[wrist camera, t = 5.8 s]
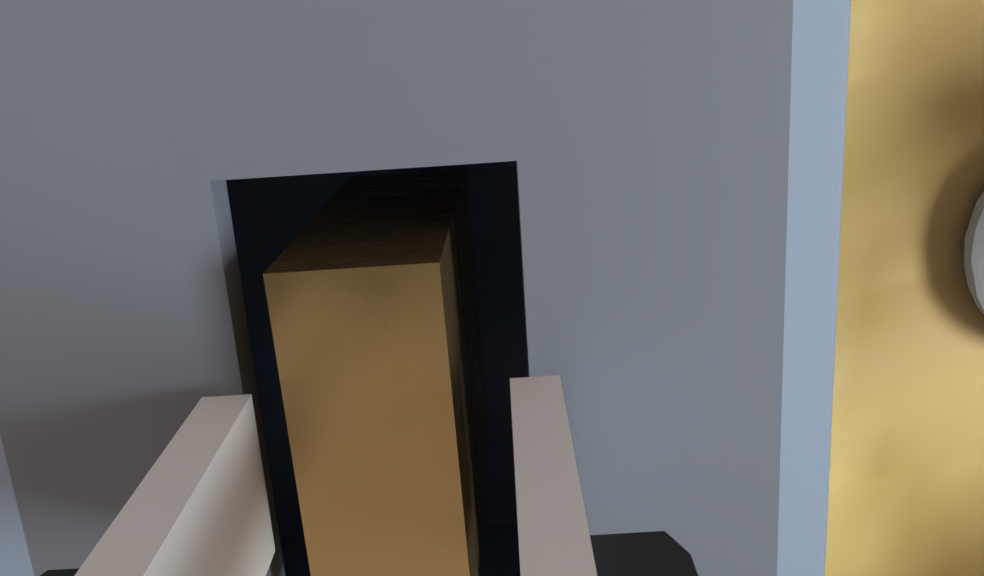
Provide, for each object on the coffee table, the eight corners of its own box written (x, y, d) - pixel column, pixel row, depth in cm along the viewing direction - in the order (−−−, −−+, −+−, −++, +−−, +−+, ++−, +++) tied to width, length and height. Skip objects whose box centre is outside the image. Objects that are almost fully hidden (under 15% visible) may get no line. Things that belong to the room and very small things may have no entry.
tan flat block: (488, 426, 22) (474, 623, 15) (381, 432, 22) (319, 631, 15) (466, 168, 20) (439, 262, 13) (349, 176, 20) (262, 274, 13)
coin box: (684, 519, 29) (811, 860, 18) (234, 546, 29) (70, 900, 18) (681, -108, 24) (860, -206, 12) (130, -70, 24) (-197, -130, 13)
